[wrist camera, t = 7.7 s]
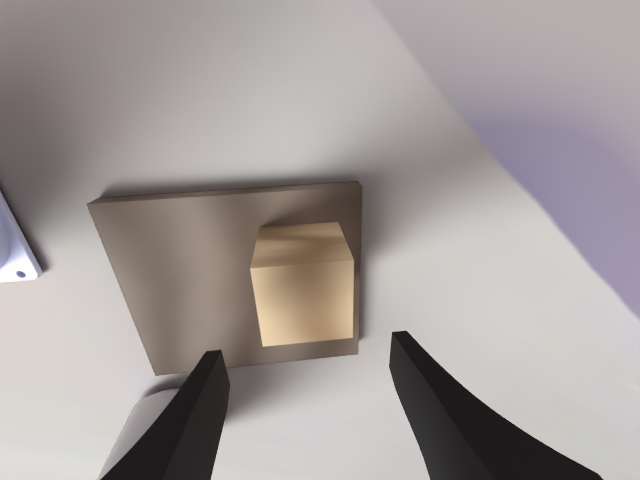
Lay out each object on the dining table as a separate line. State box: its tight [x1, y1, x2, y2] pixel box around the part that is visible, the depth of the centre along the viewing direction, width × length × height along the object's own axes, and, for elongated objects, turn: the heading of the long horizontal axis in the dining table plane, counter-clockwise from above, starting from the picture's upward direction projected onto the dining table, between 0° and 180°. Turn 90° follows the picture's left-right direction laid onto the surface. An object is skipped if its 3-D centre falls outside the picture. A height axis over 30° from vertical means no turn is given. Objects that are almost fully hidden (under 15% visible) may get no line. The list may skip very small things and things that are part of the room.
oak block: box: [250, 222, 354, 347], centre depth 17 cm, size 5×5×5 cm
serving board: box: [87, 181, 362, 376], centre depth 21 cm, size 16×14×1 cm
